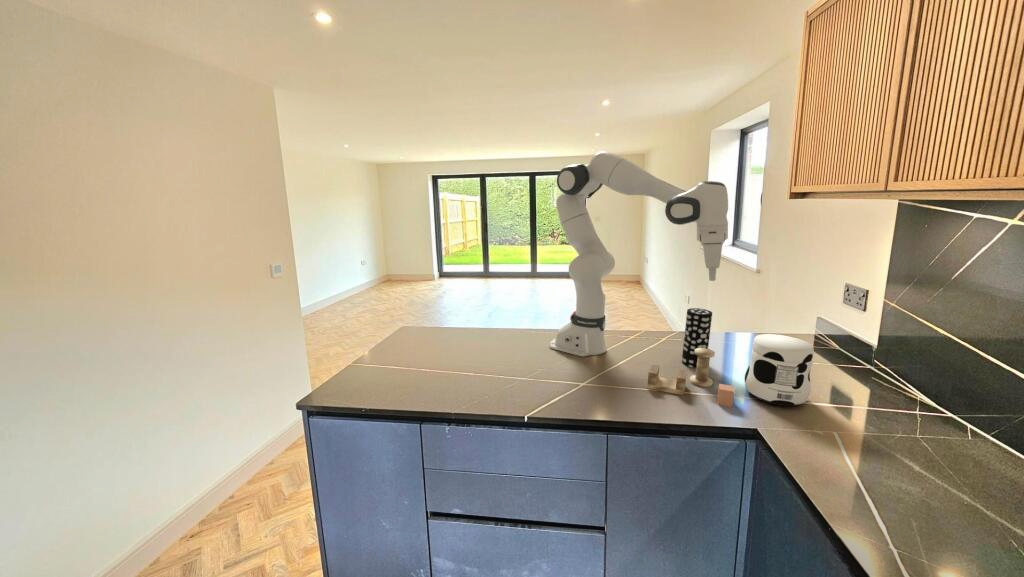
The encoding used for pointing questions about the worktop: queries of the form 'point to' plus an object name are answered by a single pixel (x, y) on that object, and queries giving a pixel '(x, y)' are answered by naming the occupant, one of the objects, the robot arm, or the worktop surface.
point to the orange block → (725, 395)
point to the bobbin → (702, 368)
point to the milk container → (780, 369)
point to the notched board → (666, 381)
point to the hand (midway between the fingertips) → (712, 277)
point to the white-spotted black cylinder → (696, 334)
